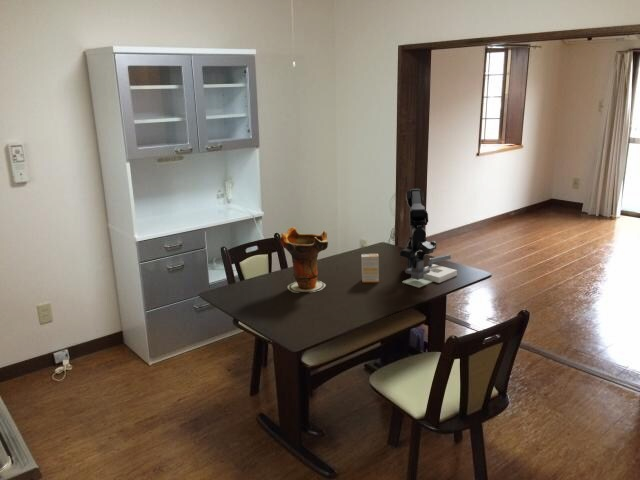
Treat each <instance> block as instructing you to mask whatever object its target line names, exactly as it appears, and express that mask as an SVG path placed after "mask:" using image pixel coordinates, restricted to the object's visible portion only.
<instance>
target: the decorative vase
mask: <svg viewBox="0 0 640 480" xmlns="http://www.w3.org/2000/svg"><path fill="white" fill-rule="evenodd" d="M327 236H328V233H327V230H323V232H322V233H321V234H316V233H299V232H298V231H297V228H296V227H295V226H293V227H290V228H288V230H287V232H286V233H285V232H282V233H281V237H280V238H279V242H280V245H281V246H282V248H284V249H285V250H286V251H287V252H289V254H290V256H291V261H292V262H291V263H292V269H293V274H292V277H291V279H293V278H294V279H295V281H294V282H292V283H290V284H288V285H287V286H286V287H287V289H288V290H289V291H291V292H292V293H298V294H299V293H315V292H318V291H322V290H323V289H324V288H325V287H326V286H327V285H326V283H324V282H322V280H321V281H320V280H318V277H319V272H318V258H319V253H320V252H322V251H325V250H327V248H328V246H329V241H328V237H327Z"/></svg>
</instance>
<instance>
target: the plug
mask: <svg viewBox="0 0 640 480" xmlns="http://www.w3.org/2000/svg"><path fill="white" fill-rule="evenodd" d="M424 264H425V259H424V260H421V259H417V260H416V268H415V269H414V268H413V266H412V267H411V268H409V269H406V268H405V270H404V272H405V274H409V275H410V278H413V279H417V280H419V279H422V278H424V274H427V273H429V272H430V269H427V268H425V265H424Z"/></svg>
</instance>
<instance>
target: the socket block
mask: <svg viewBox="0 0 640 480" xmlns="http://www.w3.org/2000/svg"><path fill="white" fill-rule="evenodd" d="M424 268H427V269H430V272H429V273H427V274H424V279H427V280H431V281H433V282H435V283H438V284H440V283H442V282H445V281H448V280H450V279H452V278H455V277H456V276H458V270H457V269H455V268H454V269H453V268H450V267H446V266H442V265H438V264H434V263H432V266H428V265H427V266H424Z"/></svg>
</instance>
